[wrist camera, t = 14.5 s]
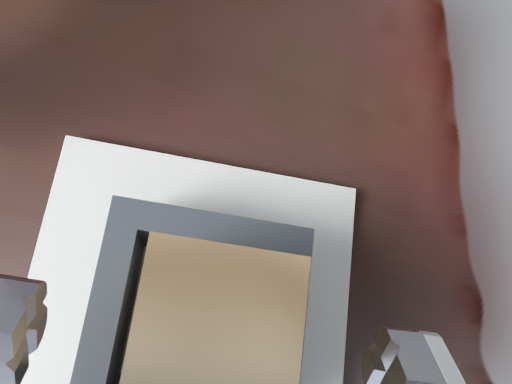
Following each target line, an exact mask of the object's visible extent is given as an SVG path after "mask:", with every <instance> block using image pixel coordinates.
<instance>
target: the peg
mask: <svg viewBox="0 0 512 384" xmlns="http://www.w3.org/2000/svg"><path fill="white" fill-rule="evenodd" d="M310 266H311V257H309V256H303V255H297V254H290V253H284V252H278V251H272V250H265V249H259V248H253V247H246V246H240V245H234V244H227V243H221V242H215V241H209V240H202V239H196V238H190V237H183V236H177V235H171V234H164V233H158V232H152V231H150V232H149V237H148V242H147V247H146V252H145V257H144V262H143V267H142V272H141V277H140V282H139V287H138V292H137V297H136V302H135V307H134V312H133V317H132V322H131V327H130V332H129V337H128V342H127V347H126V352H125V357H124V362H123V367H122V372H121V377H120V382H119V384H299V382H300V371H301V361H302V350H303V340H304V329H305V319H306V308H307V297H308V287H309V276H310Z"/></svg>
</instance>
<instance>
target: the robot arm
mask: <svg viewBox="0 0 512 384" xmlns="http://www.w3.org/2000/svg"><path fill="white" fill-rule="evenodd" d="M46 295H47V283H46V282H45V281H41V280H35V279H29V278H22V277H16V276H10V275H3V274H0V384H20V383H21V381H22V379H23V377H24V375H25V373H26V371H27V369H28V367H29V354H31V353H32V352H34V351H35V350H37V348H38V346H39V344H40V342H41V340H42V337H43V334H44V330H45V327H46V322H47V307H46V306H45V305H44V304H43V301H44V299H45V297H46ZM374 339H375V342H376V343H375V344H373V345H372V346H370V347H368V348H367V350H366V352H365V354H364V357H363V363H362V374H363V379H364V383H365V384H466V382H465V381H464V379H463V377H462V375H461V373H460V371H459V369H458V367H457V366H456V364H455V362H454V360H453V358H452V356H451V354H450V352H449V351H448V349H447V347H446V345H445V343H444V341H443V339H442V337H441V336H440V335H439V334H437V333H435V332H427V331H416V330H410V329H402V328H394V327H386V326H381V327H380V328H378V329H377V331H376V332H375V334H374Z"/></svg>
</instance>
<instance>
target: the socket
mask: <svg viewBox="0 0 512 384" xmlns="http://www.w3.org/2000/svg"><path fill="white" fill-rule="evenodd" d="M355 196H356V189H354V188H349V187H343V186H338V185H333V184H327V183H322V182H316V181H311V180H305V179H300V178H295V177H289V176H284V175H278V174H273V173H267V172H262V171H257V170H251V169H246V168H240V167H235V166H229V165H224V164H219V163H213V162H208V161H202V160H197V159H192V158H186V157H181V156H175V155H170V154H164V153H159V152H154V151H148V150H143V149H137V148H132V147H126V146H121V145H116V144H110V143H105V142H99V141H94V140H88V139H83V138H78V137H72V136H67V135H66V136H65V140H64V143H63V147H62V151H61V155H60V158H59V162H58V166H57V170H56V173H55V177H54V181H53V185H52V188H51V192H50V196H49V199H48V203H47V207H46V211H45V214H44V218H43V222H42V226H41V229H40V233H39V237H38V240H37V244H36V248H35V252H34V255H33V259H32V263H31V267H30V270H29V274H28V278H29V279H35V280H41V281H45V282H46V283H47V295H46V297H45V299H44V301H43V304H44V305H45V306H46V307H47V322H46V327H45V330H44V334H43V337H42V340H41V342H40V344H39V346H38V348H37V350H35V351H34V352H32V353H31V354H29V367H28V369H27V371H26V373H25V375H24V377H23V379H22V381H21V383H20V384H119V382H120V377H121V372H122V367H123V362H124V357H125V352H126V347H127V342H128V337H129V332H130V327H131V322H132V317H133V312H134V307H135V302H136V297H137V292H138V287H139V282H140V277H141V272H142V267H143V262H144V257H145V252H146V247H147V242H148V237H149V232H150V231H152V232H158V233H164V234H171V235H177V236H183V237H190V238H196V239H202V240H209V241H215V242H221V243H227V244H234V245H240V246H246V247H253V248H259V249H265V250H272V251H278V252H284V253H290V254H297V255H303V256H309V257H311V266H310V276H309V287H308V297H307V308H306V319H305V329H304V340H303V350H302V361H301V371H300V382H299V384H343V374H344V359H345V344H346V329H347V314H348V300H349V285H350V270H351V255H352V240H353V226H354V211H355Z"/></svg>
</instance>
